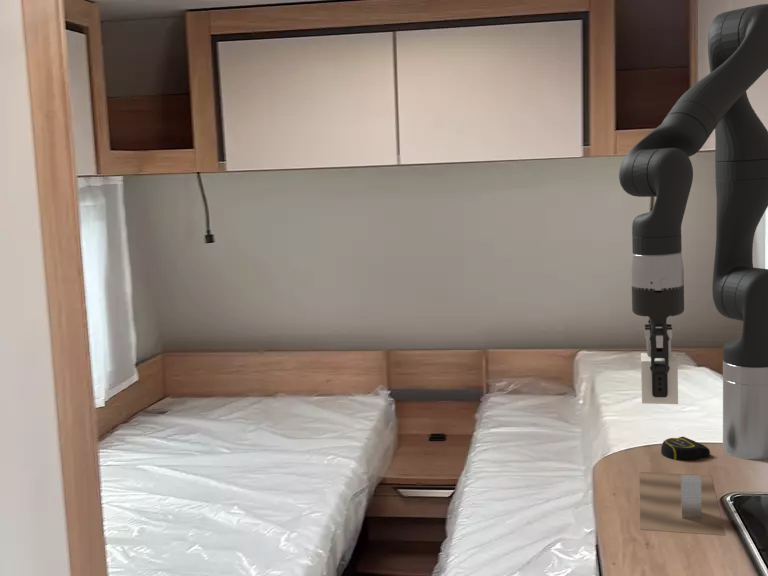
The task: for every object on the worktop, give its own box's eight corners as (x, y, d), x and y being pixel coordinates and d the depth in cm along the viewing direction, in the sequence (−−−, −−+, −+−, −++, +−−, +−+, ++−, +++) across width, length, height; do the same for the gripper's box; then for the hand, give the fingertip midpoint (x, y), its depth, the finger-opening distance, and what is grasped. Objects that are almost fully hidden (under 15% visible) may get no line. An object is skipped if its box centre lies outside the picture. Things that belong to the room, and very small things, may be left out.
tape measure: (712, 466, 142) (712, 445, 141) (678, 472, 140) (678, 451, 139) (686, 453, 148) (686, 433, 148) (653, 459, 146) (653, 439, 146)
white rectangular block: (641, 393, 131) (640, 353, 130) (676, 394, 130) (675, 353, 129) (642, 403, 126) (641, 361, 125) (678, 404, 125) (677, 361, 124)
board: (639, 480, 137) (639, 471, 137) (711, 484, 134) (711, 475, 133) (640, 539, 116) (640, 529, 116) (725, 545, 113) (725, 535, 113)
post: (681, 510, 121) (680, 474, 120) (700, 511, 120) (699, 475, 119) (682, 518, 119) (681, 481, 118) (701, 519, 118) (701, 482, 117)
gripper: (631, 276, 133) (634, 378, 136) (631, 290, 120) (634, 404, 122) (681, 275, 131) (682, 379, 133) (686, 289, 117) (688, 405, 120)
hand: (659, 390), depth 128 cm, fingers closed on white rectangular block, 5 cm apart
